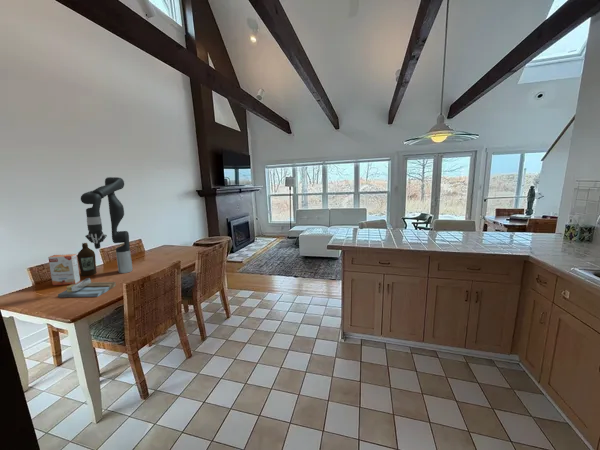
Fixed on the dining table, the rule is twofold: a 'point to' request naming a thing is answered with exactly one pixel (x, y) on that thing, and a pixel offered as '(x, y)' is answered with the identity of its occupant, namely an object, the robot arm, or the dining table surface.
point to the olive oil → (86, 261)
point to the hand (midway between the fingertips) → (97, 248)
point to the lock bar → (81, 284)
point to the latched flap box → (89, 290)
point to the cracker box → (64, 269)
